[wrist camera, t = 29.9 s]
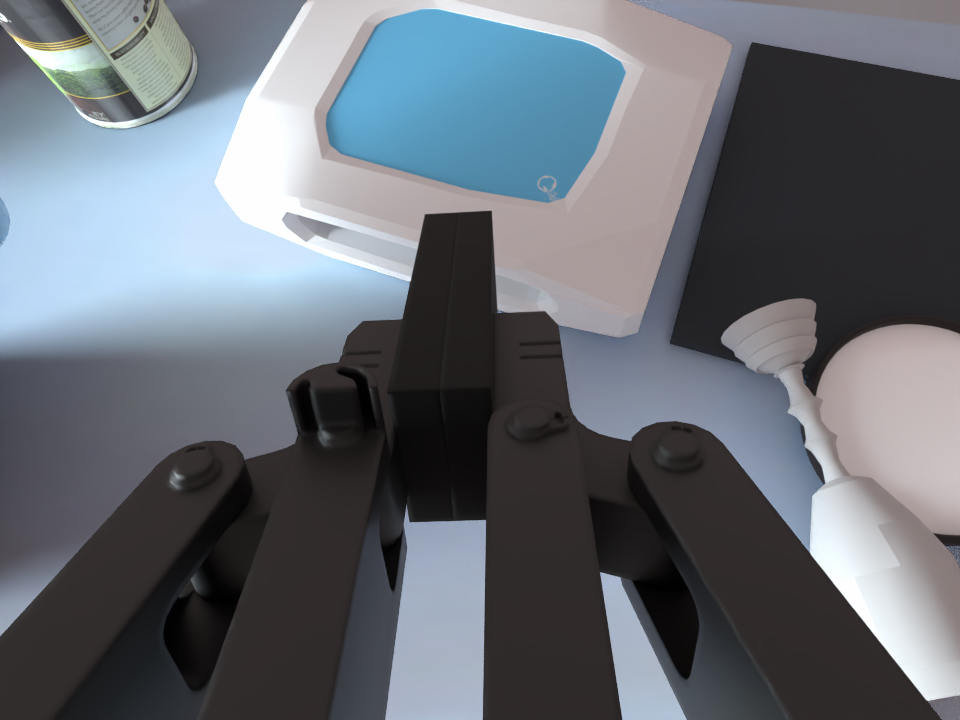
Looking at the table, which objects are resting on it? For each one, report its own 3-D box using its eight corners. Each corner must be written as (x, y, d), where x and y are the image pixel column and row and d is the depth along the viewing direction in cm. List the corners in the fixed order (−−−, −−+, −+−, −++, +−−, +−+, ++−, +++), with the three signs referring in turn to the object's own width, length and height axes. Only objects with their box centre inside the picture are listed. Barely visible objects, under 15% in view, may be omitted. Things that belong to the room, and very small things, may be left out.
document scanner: (364, 10, 54) (342, -64, 48) (718, 91, 48) (742, 18, 42) (239, 229, 48) (197, 175, 42) (631, 352, 42) (645, 309, 36)
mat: (669, 343, 42) (671, 338, 41) (748, 50, 49) (751, 41, 49) (987, 430, 38) (996, 426, 38) (1021, 101, 46) (1028, 92, 45)
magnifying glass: (711, 707, 35) (721, 714, 33) (827, 299, 41) (841, 283, 39) (975, 823, 32) (1003, 839, 30) (1055, 368, 38) (1083, 355, 36)
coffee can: (91, 151, 51) (-64, -11, 38) (58, 61, 55) (-94, -115, 42) (217, 93, 52) (108, -84, 39) (176, 8, 56) (64, -180, 43)
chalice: (734, 298, 33) (912, 708, 25) (862, 276, 34) (1072, 666, 26) (687, 365, 39) (817, 706, 32) (795, 345, 40) (947, 673, 33)
